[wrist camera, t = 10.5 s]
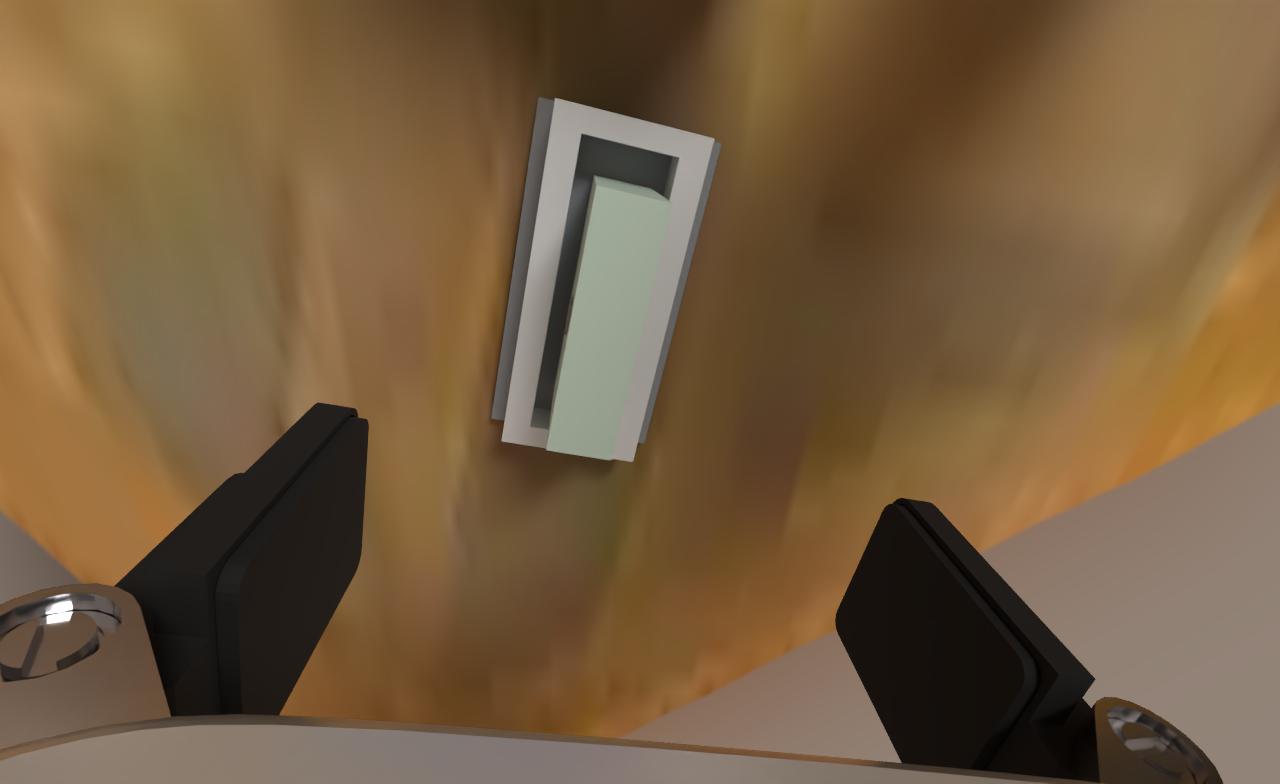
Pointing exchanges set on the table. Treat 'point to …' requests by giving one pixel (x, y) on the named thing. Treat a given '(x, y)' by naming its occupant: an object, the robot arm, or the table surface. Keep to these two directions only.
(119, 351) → the table surface
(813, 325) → the table surface
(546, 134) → the grey rectangular frame
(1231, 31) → the table surface
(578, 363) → the pale green angular block
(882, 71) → the table surface
